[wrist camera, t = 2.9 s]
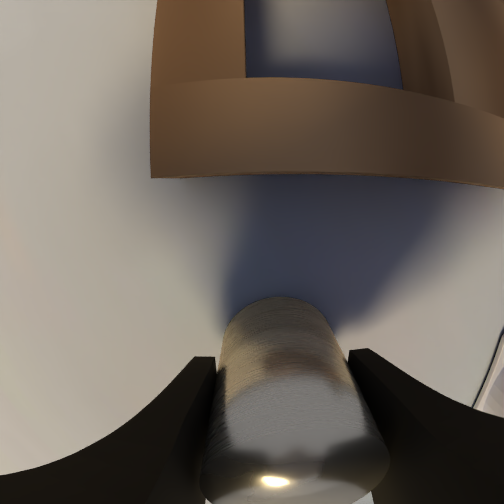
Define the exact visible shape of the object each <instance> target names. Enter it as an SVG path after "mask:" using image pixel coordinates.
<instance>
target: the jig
mask: <svg viewBox="0 0 504 504" xmlns="http://www.w3.org/2000/svg"><path fill="white" fill-rule="evenodd" d="M386 3H387V6H388V10H389V14H390V18H391V22H392V27H393V31H394V36H395V41H396V46H397V51H398V57H399V63H400V69H401V76H402V83H403V90H401V89H396V88H390V87H384V86H378V85H371V84H363V83H356V82H347V81H337V80H325V79H309V78H277V77H264V78H247V77H246V44H245V11H244V0H158V1H157V9H156V17H155V27H154V38H153V51H152V67H151V89H150V165H151V178H193V177H210V176H230V175H260V174H335V175H364V176H384V177H399V178H413V179H425V180H435V181H445V182H454V183H463V184H471V185H478V186H486V187H493V188H499V189H504V0H386Z"/></svg>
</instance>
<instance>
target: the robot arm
mask: <svg viewBox="0 0 504 504" xmlns="http://www.w3.org/2000/svg"><path fill="white" fill-rule="evenodd" d="M348 365H349V367H350V369H351V371H352V373H353V375H354V377H355V379H356V381H357V384H358V386H359V388H360V390H361V392H362V394H363V396H364V398H365V401H366V403H367V405H368V407H369V409H370V411H371V414H372V416H373V418H374V420H375V422H376V425H377V427H378V429H379V431H380V434H381V436H382V438H383V440H384V442H385V445H386V447H387V449H388V452H389V454H390V465H389V468H388V471H387V473H386V475H385V476H384V478H383V479H382V480H381V482H380V483H379V484H378V485H377V486H376V487H375V488H374V489H373V490H371V492H372V497H373V501H374V504H504V334H503V336H502V338H501V340H500V344H499V346H498V349H497V352H496V355H495V358H494V361H493V363H492V366H491V369H490V371H489V374H488V376H487V379H486V381H485V383H484V386H483V388H482V390H481V392H480V395H479V397H478V399H477V401H476V403H475V405H474V407H473V408H471V407H469V406H466V405H464V404H462V403H459V402H457V401H455V400H452V399H450V398H448V397H446V396H444V395H442V394H440V393H439V392H437V391H435V390H433V389H431V388H429V387H428V386H426V385H424V384H423V383H421V382H419V381H418V380H416V379H414V378H413V377H411V376H410V375H408V374H407V373H405V372H403V371H402V370H400V369H399V368H397V367H396V366H394V365H393V364H392V363H390V362H389V361H387V360H386V359H384V358H383V357H381V356H380V355H378V354H377V353H375V352H373V351H372V350H370V349H368V348H365V349H357V350H349V357H348ZM216 377H217V371H216V362H215V357H197V356H195V357H194V358H193V359H192V360H191V361H190V362H189V363H188V364H187V365H186V366H185V367H184V369H183V370H182V371H181V372H180V373H179V374H178V375H177V376H176V377H175V378H174V380H173V381H172V382H171V383H170V384H169V385H168V386H167V387H166V388H165V389H164V390H163V391H162V392H161V393H160V394H159V395H158V396H157V397H156V398H155V399H154V400H153V401H151V402H150V403H149V404H148V405H147V406H146V407H145V408H144V409H142V410H141V411H140V412H139V413H138V414H137V415H135V416H134V417H133V418H132V419H130V420H129V421H128V422H126V423H125V424H124V425H122V426H121V427H120V428H118V429H117V430H115V431H114V432H112V433H111V434H109V435H107V436H106V437H104V438H102V439H101V440H99V441H97V442H95V443H93V444H91V445H90V446H88V447H86V448H84V449H82V450H80V451H78V452H76V453H74V454H72V455H69V456H67V457H65V458H62V459H60V460H57V461H54V462H52V463H49V464H46V465H43V466H40V467H37V468H33V469H29V470H25V471H20V472H16V473H11V474H6V475H0V504H205V500H206V498H205V496H204V495H203V494H202V492H201V490H200V486H199V479H200V472H201V466H202V460H203V454H204V448H205V442H206V436H207V430H208V424H209V418H210V412H211V406H212V400H213V394H214V388H215V383H216Z"/></svg>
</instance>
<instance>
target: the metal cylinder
mask: <svg viewBox="0 0 504 504" xmlns="http://www.w3.org/2000/svg"><path fill="white" fill-rule="evenodd" d="M389 465H390V454H389V452H388V449H387V447H386V445H385V442H384V440H383V438H382V436H381V434H380V431H379V429H378V427H377V425H376V422H375V420H374V418H373V416H372V414H371V411H370V409H369V407H368V405H367V403H366V401H365V398H364V396H363V394H362V392H361V390H360V388H359V386H358V384H357V381H356V379H355V377H354V375H353V373H352V371H351V369H350V367H349V365H348V363H347V361H346V358H345V356H344V354H343V352H342V350H341V348H340V346H339V344H338V342H337V340H336V338H335V336H334V334H333V332H332V330H331V328H330V326H329V324H328V322H327V320H326V319H325V317H324V316H323V315H322V313H321V312H320V311H319V310H317V309H316V308H315V307H314V306H312V305H310V304H309V303H307V302H304V301H302V300H299V299H295V298H289V297H271V298H266V299H262V300H259V301H256V302H254V303H252V304H250V305H248V306H247V307H245V308H243V309H242V310H241V311H240V312H238V313H237V314H236V315H235V316H234V318H233V319H232V320H231V321H230V323H229V324H228V326H227V328H226V331H225V334H224V337H223V343H222V349H221V354H220V360H219V366H218V371H217V377H216V383H215V388H214V394H213V400H212V406H211V412H210V418H209V424H208V430H207V436H206V442H205V448H204V454H203V460H202V466H201V472H200V479H199V486H200V490H201V492H202V494H203V495H204V496H205V498H206V499H207V500H208V501H209V502H211V503H212V504H352V503H354V502H355V501H357V500H359V499H360V498H362V497H363V496H365V495H366V494H368V493H369V492H370V491H371V490H373V489H374V488H375V487H376V486H377V485H378V484H379V483H380V482H381V480H382V479H383V478H384V476H385V475H386V473H387V471H388V468H389Z"/></svg>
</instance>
